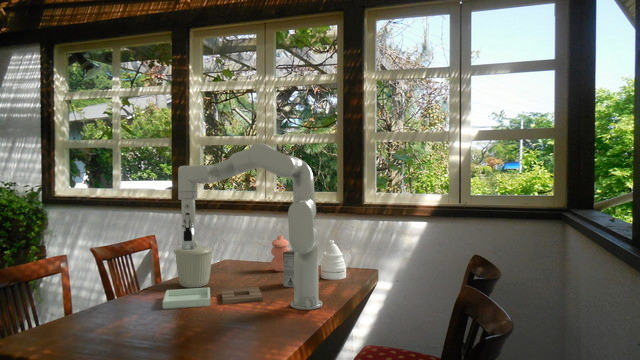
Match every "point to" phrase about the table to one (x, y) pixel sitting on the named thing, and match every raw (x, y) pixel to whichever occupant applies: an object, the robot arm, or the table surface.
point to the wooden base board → (241, 295)
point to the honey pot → (333, 263)
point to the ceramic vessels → (279, 254)
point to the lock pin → (188, 244)
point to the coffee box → (288, 268)
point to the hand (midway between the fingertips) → (188, 239)
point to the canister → (194, 265)
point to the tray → (186, 298)
